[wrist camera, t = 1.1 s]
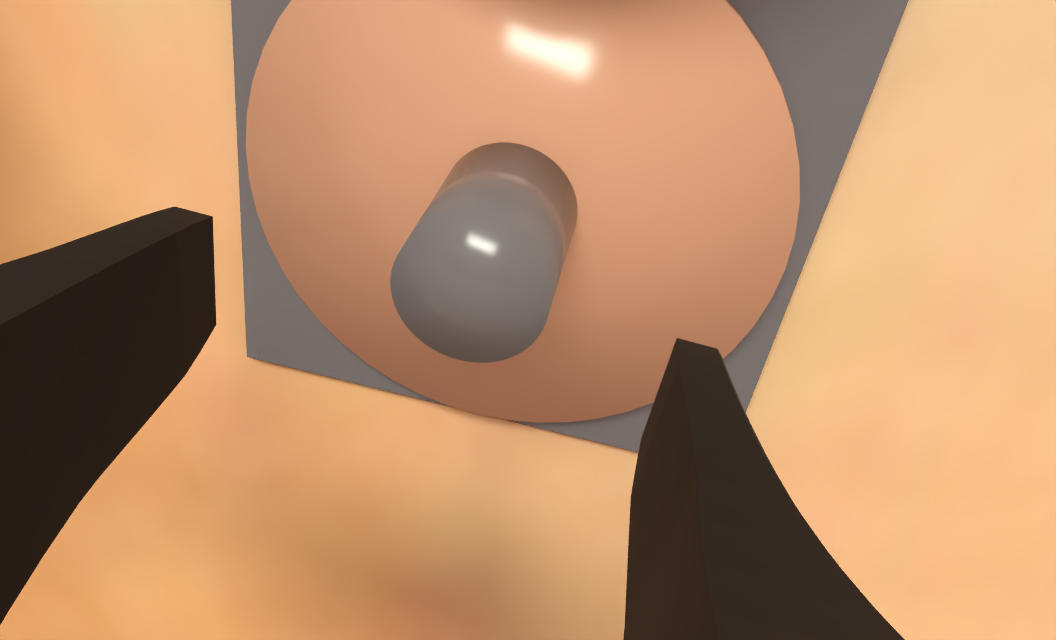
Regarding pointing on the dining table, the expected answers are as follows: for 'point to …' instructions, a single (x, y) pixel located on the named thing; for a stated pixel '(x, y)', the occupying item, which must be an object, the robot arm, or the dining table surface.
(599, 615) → the dining table surface
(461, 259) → the lid
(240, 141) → the mat
